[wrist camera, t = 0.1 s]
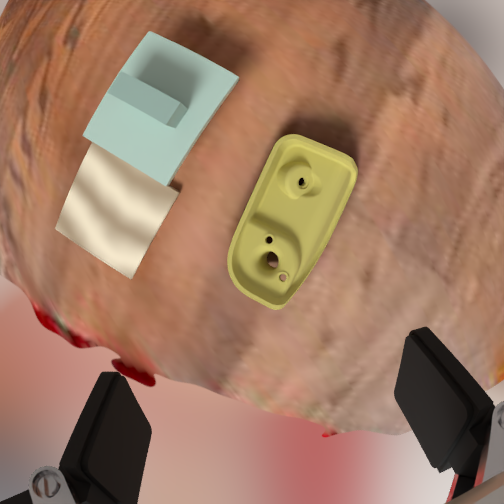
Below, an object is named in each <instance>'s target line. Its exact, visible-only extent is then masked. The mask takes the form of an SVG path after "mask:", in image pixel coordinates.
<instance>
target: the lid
mask: <svg viewBox="0 0 504 504" xmlns="http://www.w3.org/2000/svg"><path fill="white" fill-rule="evenodd" d="M238 81H239V77H238V76H237V75H235V74H233V73H231V72H230V71H228V70H226V69H224V68H223V67H221V66H219V65H217V64H215V63H214V62H212V61H210V60H208V59H206V58H204V57H202V56H201V55H199V54H197V53H195V52H193V51H191V50H189V49H187V48H185V47H183V46H181V45H179V44H177V43H175V42H172V41H170V40H168V39H166V38H164V37H162V36H159V35H157V34H155V33H153V32H150V31H149V32H148V33H147V35H146V36H145V37H144V38H143V40H142V41H141V42H140V44H139V45H138V46H137V48H136V49H135V51H134V52H133V53H132V55H131V56H130V58H129V59H128V60H127V62H126V63H125V65H124V66H123V68H122V69H121V71H120V72H119V74H118V75H117V77H116V78H115V80H114V81H113V83H112V85H111V86H110V88H109V89H108V91H107V93H106V94H105V96H104V98H103V99H102V101H101V103H100V105H99V106H98V108H97V110H96V112H95V113H94V115H93V117H92V119H91V121H90V122H89V124H88V126H87V128H86V130H85V132H84V134H83V136H84V137H86V138H87V139H89V140H90V141H92V142H94V143H95V144H97V145H99V146H100V147H102V148H104V149H105V150H107V151H109V152H110V153H112V154H114V155H115V156H117V157H118V158H120V159H122V160H123V161H125V162H127V163H128V164H130V165H132V166H133V167H135V168H136V169H138V170H140V171H141V172H143V173H145V174H146V175H148V176H150V177H151V178H153V179H154V180H156V181H158V182H159V183H161V184H163V185H164V186H168V185H170V183H171V181H172V180H173V178H174V176H175V175H176V173H177V171H178V170H179V168H180V166H181V165H182V163H183V162H184V160H185V158H186V157H187V155H188V154H189V152H190V150H191V149H192V147H193V146H194V144H195V143H196V141H197V140H198V138H199V137H200V135H201V134H202V132H203V131H204V129H205V128H206V126H207V125H208V123H209V122H210V120H211V119H212V117H213V116H214V115H215V113H216V112H217V110H218V109H219V107H220V106H221V105H222V103H223V102H224V100H225V99H226V98H227V96H228V95H229V93H230V92H231V91H232V89H233V88H234V87H235V85H236V84H237V83H238Z"/></svg>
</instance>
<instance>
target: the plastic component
mask: <svg viewBox="0 0 504 504" xmlns="http://www.w3.org/2000/svg"><path fill="white" fill-rule="evenodd" d="M357 174H358V168H357V166H356V164H355V162H354V160H353V159H352V158H351V157H350V156H348V155H346V154H344V153H342V152H340V151H337V150H335V149H333V148H330V147H328V146H326V145H323V144H321V143H318V142H316V141H314V140H311V139H309V138H306V137H303V136H301V135H297V134H290V135H286V136H284V137H282V138H280V139H279V140H278V141H277V142H276V144H275V145H274V147H273V149H272V151H271V153H270V156H269V158H268V160H267V162H266V164H265V166H264V169H263V171H262V173H261V175H260V177H259V180H258V182H257V184H256V186H255V188H254V191H253V193H252V195H251V197H250V199H249V202H248V204H247V206H246V208H245V211H244V213H243V215H242V217H241V220H240V222H239V224H238V226H237V229H236V231H235V234H234V236H233V239H232V242H231V245H230V248H229V252H228V261H227V264H228V271H229V274H230V277H231V279H232V281H233V283H234V284H235V286H236V287H237V288H238V289H239V290H240V291H241V292H242V293H244V294H245V295H247V296H248V297H250V298H252V299H253V300H255V301H257V302H259V303H261V304H263V305H265V306H267V307H269V308H270V309H274V310H279V309H281V308H283V307H284V306H285V305H286V304H287V303H288V301H289V300H290V299H291V298H292V297H293V296H294V294H295V293H296V292H297V291H298V289H299V288H300V287H301V285H302V284H303V282H304V281H305V280H306V278H307V277H308V275H309V274H310V272H311V271H312V269H313V267H314V266H315V264H316V263H317V261H318V259H319V258H320V256H321V254H322V252H323V251H324V249H325V247H326V245H327V243H328V241H329V239H330V237H331V235H332V233H333V231H334V229H335V227H336V225H337V223H338V221H339V218H340V216H341V214H342V212H343V210H344V208H345V206H346V203H347V201H348V199H349V197H350V195H351V192H352V190H353V188H354V185H355V182H356V179H357ZM300 178H303V179H304V183H303V184H302V185H301V186H300V185H299V184H298V182H299V179H300ZM268 236H271V237H272V239H273V242H272V243H271V244H269V243H267V237H268ZM270 251H272V252H274V253H275V254H276V255H277V256H278V259H279V264H278V266H277V268H274V267H272V266H270V265H269V264H268V262H267V255H268V253H269V252H270ZM281 274H285V275H286V277H287V278H286V281H282V280H281V279H280V275H281Z"/></svg>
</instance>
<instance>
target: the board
mask: <svg viewBox="0 0 504 504" xmlns="http://www.w3.org/2000/svg"><path fill="white" fill-rule="evenodd" d="M179 194H180V191H178V190H176V189H175V188H173V187H172V186H170V185H168V186H164V185H163V184H161V183H159V182H158V181H156V180H154V179H153V178H151V177H150V176H148V175H146V174H145V173H143V172H141V171H140V170H138V169H136V168H135V167H133V166H132V165H130V164H128V163H127V162H125V161H123V160H122V159H120V158H118V157H117V156H115V155H114V154H112V153H110V152H109V151H107V150H105V149H104V148H102V147H100V146H99V145H97V144H95V143H94V142H92V144H91V146H90V148H89V150H88V152H87V154H86V156H85V158H84V160H83V162H82V164H81V166H80V169H79V171H78V173H77V175H76V177H75V180H74V182H73V184H72V187H71V189H70V191H69V194H68V196H67V199H66V201H65V204H64V206H63V209H62V212H61V214H60V217H59V220H58V222H57V225H56V228H55V229H56V230H57V231H59V232H60V233H62V234H63V235H65V236H66V237H67V238H69V239H70V240H72V241H73V242H75V243H76V244H77V245H79V246H80V247H82V248H83V249H85V250H86V251H88V252H89V253H91V254H92V255H94V256H95V257H97V258H98V259H100V260H101V261H103V262H104V263H106V264H107V265H109V266H111V267H112V268H114V269H115V270H117V271H118V272H120V273H122V274H123V275H125V276H126V277H128V278H130V279H132V278H133V276H134V275H135V273H136V271H137V269H138V267H139V265H140V263H141V261H142V259H143V257H144V255H145V253H146V252H147V250H148V248H149V246H150V244H151V242H152V241H153V239H154V237H155V235H156V233H157V232H158V230H159V228H160V226H161V224H162V223H163V221H164V219H165V217H166V216H167V214H168V212H169V211H170V209H171V207H172V205H173V204H174V202H175V200H176V199H177V197H178V195H179Z"/></svg>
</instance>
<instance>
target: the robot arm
mask: <svg viewBox="0 0 504 504" xmlns="http://www.w3.org/2000/svg"><path fill="white" fill-rule="evenodd" d="M394 396H395V399H396V401H397V403H398V405H399V407H400V408H401V410H402V412H403V414H404V416H405V417H406V419H407V421H408V423H409V425H410V426H411V428H412V430H413V432H414V434H415V436H416V437H417V439H418V441H419V443H420V445H421V447H422V449H423V450H424V452H425V454H426V456H427V458H428V460H429V462H430V464H431V466H432V467H434V468H437V469H438V471H439V473H441V472H443V471H445V470H447V469H449V468H451V467H452V468H453V470H454V472H455V475H454V479H453V482H452V485H451V489H450V492H449V495H448V498H447V501H446V503H445V504H504V401H503V402H501V403H499V404H498V405H497V406H496V407H495V406H494V405H493V401H492V400H491V398H490V397H489V396H488V395H487V394H486V393H485V391H484V390H483V389H482V388H481V386H480V385H479V384H478V383H477V382H476V380H475V379H474V378H473V377H472V376H471V375H470V373H469V372H468V371H467V370H466V369H465V368H464V366H463V365H462V364H461V363H460V362H459V361H458V360H457V359H456V357H455V356H454V355H453V354H452V353H451V352H450V351H449V350H448V349H447V347H446V346H445V345H444V344H443V343H442V342H441V341H440V340H439V339H438V338H437V337H436V336H435V334H434V333H433V332H432V331H431V330H430V329H429V328H428V327H422V328H419V329H416V330H412V331H411V332H410V333H409V336H407V337H406V339H405V344H404V349H403V354H402V359H401V364H400V369H399V373H398V377H397V382H396V386H395V390H394ZM151 434H152V431H151V426H150V424H149V422H148V420H147V418H146V417H145V415H144V413H143V411H142V409H141V407H140V406H139V404H138V402H137V400H136V398H135V396H134V394H133V392H132V390H131V388H130V386H129V384H128V382H127V380H126V378H125V377H124V376H121V374H120V373H119V372H102V373H101V374H100V376H99V378H98V380H97V382H96V384H95V386H94V388H93V390H92V392H91V394H90V396H89V398H88V400H87V402H86V405H85V407H84V409H83V411H82V413H81V415H80V417H79V419H78V422H77V424H76V426H75V428H74V431H73V433H72V435H71V437H70V440H69V442H68V444H67V447H66V449H65V451H64V454H63V456H62V458H61V461H60V466H59V469H57V468H55V467H52V466H44V467H40V468H39V469H37V470H35V472H34V473H33V474H32V475H31V477H30V479H29V484H28V486H29V490H26V491H24V492H22V493H20V494H17V495H15V496H13V497H11V498H8V499H6V500H3V501H1V502H0V504H137V502H138V497H139V491H140V486H141V481H142V476H143V471H144V467H145V462H146V457H147V453H148V448H149V444H150V439H151Z"/></svg>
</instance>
